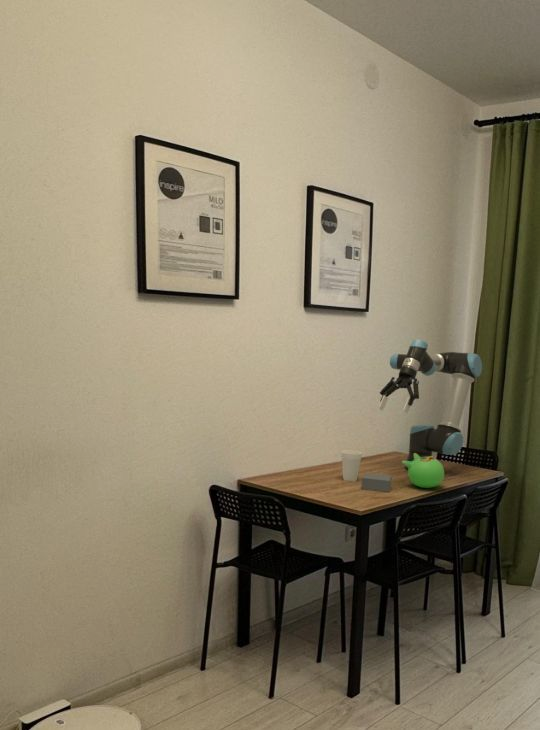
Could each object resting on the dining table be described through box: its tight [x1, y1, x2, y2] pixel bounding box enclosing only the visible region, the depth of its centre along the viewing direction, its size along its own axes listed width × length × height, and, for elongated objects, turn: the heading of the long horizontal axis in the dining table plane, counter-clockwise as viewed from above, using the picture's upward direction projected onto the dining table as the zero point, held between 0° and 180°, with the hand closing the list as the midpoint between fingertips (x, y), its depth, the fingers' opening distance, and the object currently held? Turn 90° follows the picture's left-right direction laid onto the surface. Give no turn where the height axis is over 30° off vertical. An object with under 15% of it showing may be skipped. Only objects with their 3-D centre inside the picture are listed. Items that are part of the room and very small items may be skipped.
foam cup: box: [340, 449, 362, 482], centre depth 291 cm, size 10×9×13 cm
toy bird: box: [401, 453, 445, 489], centre depth 284 cm, size 18×17×15 cm
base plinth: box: [360, 472, 392, 493], centre depth 279 cm, size 12×12×5 cm
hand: (392, 410), depth 279 cm, fingers open, 13 cm apart
